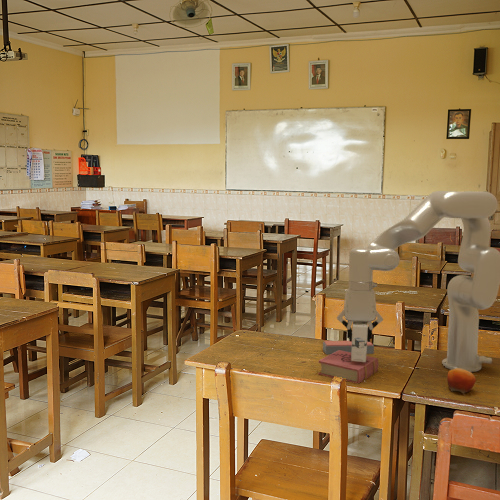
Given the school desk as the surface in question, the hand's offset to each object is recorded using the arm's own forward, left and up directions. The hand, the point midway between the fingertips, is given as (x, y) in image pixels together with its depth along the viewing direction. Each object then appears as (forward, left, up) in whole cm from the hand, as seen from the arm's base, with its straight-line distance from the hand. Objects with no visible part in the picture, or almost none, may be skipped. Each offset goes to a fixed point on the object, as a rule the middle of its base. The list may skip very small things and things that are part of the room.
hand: (359, 340), depth 176 cm
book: (+3, -1, -12) cm, 13 cm away
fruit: (-30, +10, -12) cm, 34 cm away
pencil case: (+2, -25, -12) cm, 28 cm away
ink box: (0, 0, -6) cm, 6 cm away
